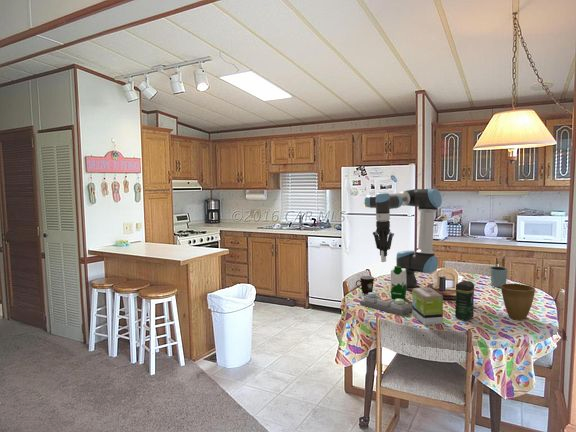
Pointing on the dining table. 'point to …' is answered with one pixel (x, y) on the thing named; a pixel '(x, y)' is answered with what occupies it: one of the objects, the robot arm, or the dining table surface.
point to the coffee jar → (464, 300)
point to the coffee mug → (366, 284)
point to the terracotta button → (385, 299)
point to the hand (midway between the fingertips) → (383, 261)
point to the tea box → (427, 306)
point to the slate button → (372, 295)
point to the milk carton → (398, 283)
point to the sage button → (399, 301)
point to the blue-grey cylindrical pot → (498, 276)
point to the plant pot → (517, 300)
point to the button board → (386, 305)
